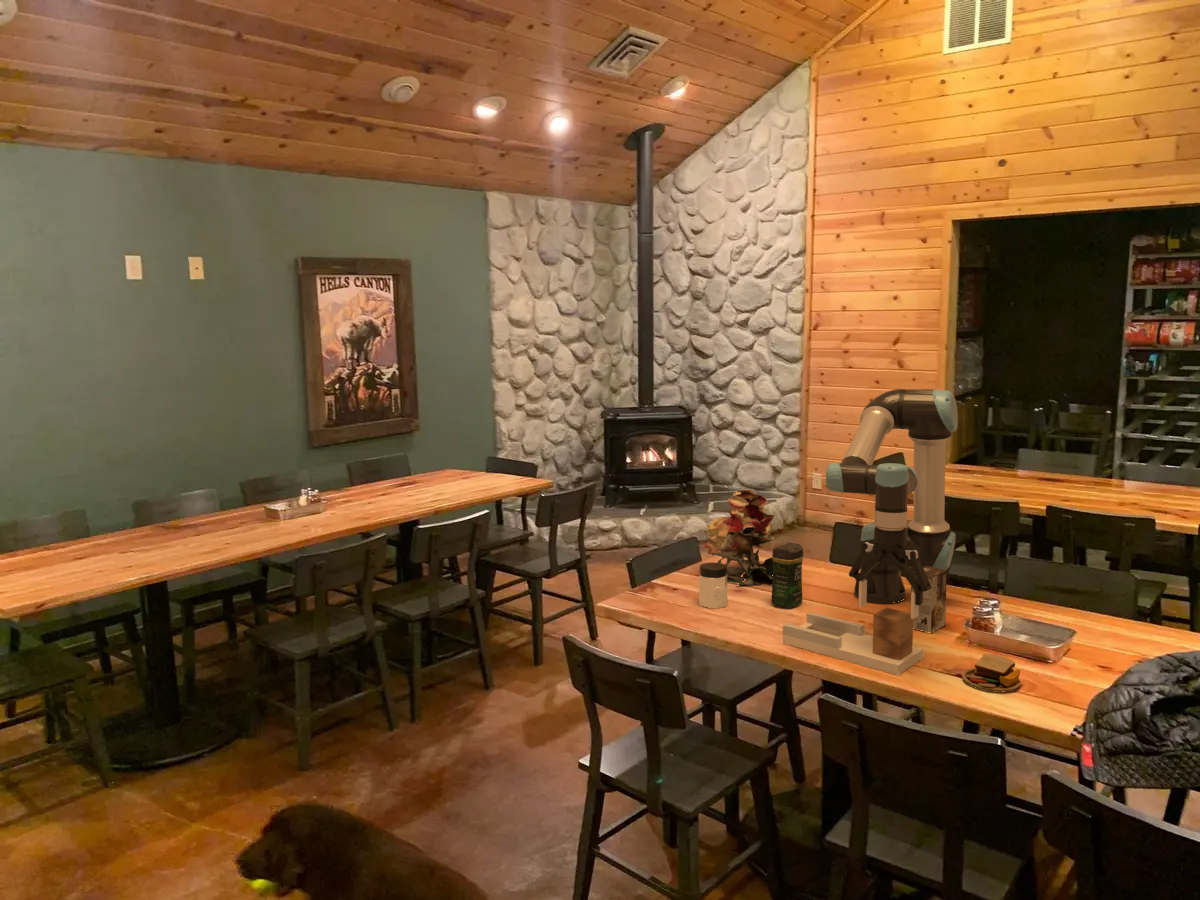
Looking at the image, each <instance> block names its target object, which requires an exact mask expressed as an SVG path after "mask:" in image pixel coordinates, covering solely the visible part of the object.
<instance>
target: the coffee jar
mask: <svg viewBox="0 0 1200 900" xmlns="http://www.w3.org/2000/svg"><path fill="white" fill-rule="evenodd" d="M771 557H772V559H773V580H772V585H771V586H772V587H771V600H770V601H771V604H772V605H773V606H775V607H777V608H780V607H781V608H782V609H784V608H787V609H792V608H795V607H797V606H799V605H801V604H802V602H803V580H802V579H803V574H802V572H803V571H802V569H803V559H804V548H803V546H802V545H801V544H799V543H794V542H787V543H784V544H781V545H779V546H776V547H773V548H772V555H771ZM781 608H780V609H781Z"/></svg>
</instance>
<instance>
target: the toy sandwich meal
mask: <svg viewBox="0 0 1200 900" xmlns="http://www.w3.org/2000/svg"><path fill="white" fill-rule="evenodd" d="M1015 667H1016V662H1015V660H1012V659H1011V658H1010V659H1009V658H1007V657H1004V656H1001V655H998V654H992V653H983V654H982V657H980V659H978V660H977V661H976V662H975V663H974V667H973V668H969V669H966V670H964V671H963V672H962V673H961V677H962V679H963V681H965V683H967V685H969V684H970V685H969V686H971V685H972V686H974V687H973V688H975V687H976V688H975V689H977V688H979V689H978V690H981V689H982V690H981V691H984V690H987V691H986V692H990V691H996V692H995V693H1003V692H1002V691H1009V692H1012V691H1011V690H1013V691H1015V690H1016V689H1018V688H1019V687H1020V686H1021V680H1020V679H1019V678H1020V673H1021V670H1020V669H1015V670H1014V668H1015ZM972 686H971V687H972ZM1014 689H1015V690H1014Z"/></svg>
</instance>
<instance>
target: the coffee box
mask: <svg viewBox="0 0 1200 900" xmlns="http://www.w3.org/2000/svg"><path fill="white" fill-rule="evenodd" d="M923 568H924V571H925V573H926V575H927V578H928V580H929V582H930V585H931V589H929V590H928V591H923V602H922V604H921V605H919V616H918V617H916V618H914V619H913V628H914V629H918V630H923V631H926V632H933V631H935V630H937V629H938V630H940V629H941V628H943V627H945V626H946V617H947V616H946V614H947V613H946V611H947V610H946V608H947V580H948V579H947V575H948V571H947V570H948V569H946V570H944V569H939V568H935V567H930V566H924V567H923ZM913 573H914V574H915V571H914V570H913ZM915 576H916V574H915ZM916 577H917V576H916ZM913 591H915V590H914V589H913V588H912V586H911V585H910V593H911V592H913ZM909 609H910V611H909V613H911V606H910V608H909ZM944 625H945V626H944ZM942 626H943V627H942ZM940 627H941V628H940ZM939 628H940V629H939ZM938 630H937V631H938ZM935 632H936V631H935ZM933 633H934V632H933Z"/></svg>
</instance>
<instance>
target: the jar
mask: <svg viewBox="0 0 1200 900" xmlns="http://www.w3.org/2000/svg"><path fill="white" fill-rule="evenodd" d="M698 584H699V585H698V588H699V589H698V592H699V593H698V601H699V602H698V603H699V604H698V605H699V606H700V607H703V606H704V607H703V608H706V607H707V608H706V609H710V608H714V609H720V608H721V609H722V608H723V607H724V608H725V607H726V606H727V604H728V582H727V566H726V564H725V563H722V562H721V563H717V562H705V563H702V564H700V565H699V576H698Z"/></svg>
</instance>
